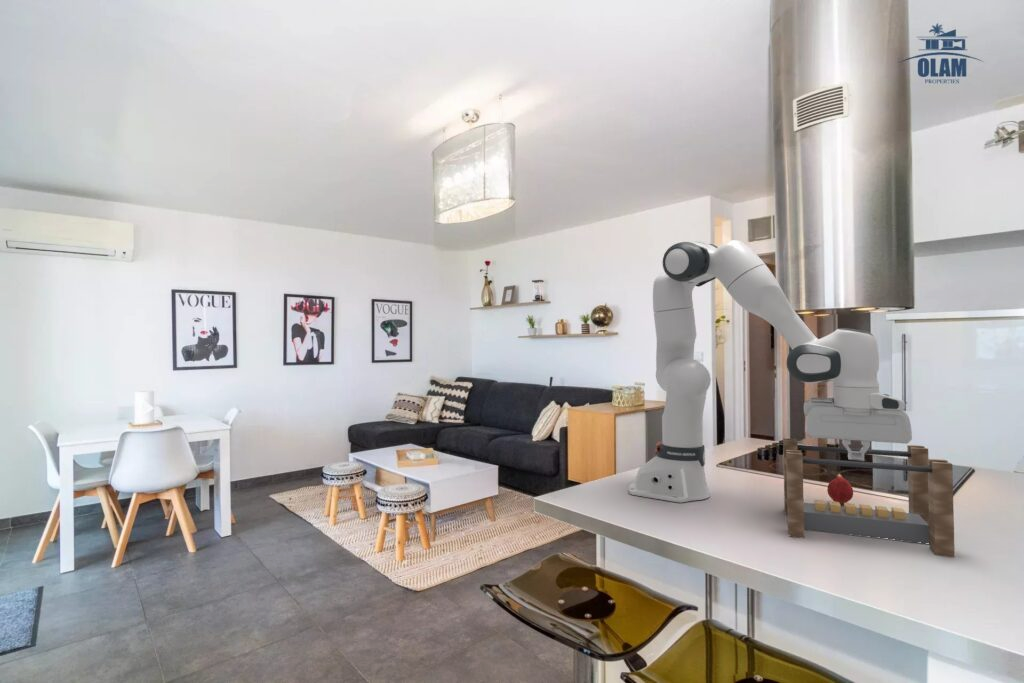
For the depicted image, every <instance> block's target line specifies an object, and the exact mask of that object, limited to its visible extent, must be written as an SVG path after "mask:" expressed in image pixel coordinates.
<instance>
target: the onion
mask: <svg viewBox="0 0 1024 683" xmlns="http://www.w3.org/2000/svg"><path fill="white" fill-rule="evenodd" d="M826 491H827V494H828V496H829V497H830V499H831V500H832V501H833V502H839V503H840V505H841V506H844V503H849V501H851V500H852V498H853V497H854V490H853V486H852V484H851V483H850V482H849V481H848V480H847V479H845V478H844V477H843V475H842V474H840V473H839V474H837V476H836V478H834V479H832V480H831V481H829V483H828V485H827V490H826Z"/></svg>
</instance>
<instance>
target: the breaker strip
mask: <svg viewBox="0 0 1024 683" xmlns="http://www.w3.org/2000/svg"><path fill="white" fill-rule="evenodd" d="M805 529H807V530H806V531H813V530H815V532H822V531H825V532H824V533H830V532H834V533H833V534H838V533H844V534H843V535H847V534H852V535H851V536H855V535H861V536H860V537H863V536H870V537H869V538H871V537H880V538H888V539H895V540H894V541H896V540H903V541H902V542H905V541H911V542H910V543H913V542H921V543H929V525H928V524H927V523H926V521H925V520H924V519H923V518H922V517H921V516H920V515H919V514H913V513H909V512H906V511H905V510H904V509H903V508H901V507H894V506H891V508H890V510H889V508H887V506H882V505H875V506H874V509H873V508H872V506H871V505H870V504H862V503H859V506H858V507H857V505H856V504H855V503H853V502H846V503H844V504H843V505H840V503H839V502H835V501H833V500H832V501H831V500H829V501H828V504H826V502H825V500H821V499H814V500H813V503H812V502H804V530H805ZM880 538H879V539H880ZM888 539H887V540H888ZM921 543H920V544H921ZM928 545H930V543H929V544H928Z"/></svg>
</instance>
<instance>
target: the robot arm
mask: <svg viewBox="0 0 1024 683" xmlns="http://www.w3.org/2000/svg"><path fill="white" fill-rule="evenodd" d="M662 268H663V271H664V272H663V273H662V274H659V275H658V276H657V277H656V278H655V279H654V281H653V287H652V309H653V318H654V319H653V321H654V328H655V337H656V352H655V353H656V354H655V355H656V356H655V358H656V359H655V362H656V363H655V364H656V365H655V367H656V370H655V380H656V382H657V384H658V387H660V388H661V390H663V391H665V394H666V396H665V402H664V409H663V413H662V415H661V426H662V427H661V431H662V432H661V433H662V436H661V437H662V440H661V441H657V443H656V444H655V448H654V450H655V456H654V457H653V458H650V459H649V461H647V462H645V463H644V464H642V465H641V466H640V468H639V469H638V470H637V473H636V474H637V475H636V477H635V478H636V479H635V481H634V482H632V483H630V484H629V486H628V488H627V489H628V490H627V491H628V493H629V494H630V495H632V496H637V497H644V498H650V499H656V500H663V501H667V502H672V503H673V502H675V503H686V502H693V501H701V500H705V499H708V498H709V497H711V493H710V491H709V487H708V483H707V477H706V472H705V464H706V449H705V444H704V442H703V441H704V438H703V437H704V435H703V434H704V431H703V430H704V429H703V426H704V425H703V424H704V423H703V422H704V421H703V418H704V410H705V404H706V401H707V400H706V399H707V392H708V389H710V385H711V380H712V379H711V374H710V372H709V370H708V368H707V367H706V366H705V365H704V364H703V363H701V362H700V361H699V360H696V359H695V358H694V356H695V355H694V354H695V345H696V344H695V342H696V339H697V328H696V319H695V310H694V302H693V292H694V291H693V290H694V288H695V287H699V288H700V287H701V286H703V285H706V284H707V283H709V282H712V281H714V280H715V279H717V280H718V281H719V282H720V283H721V285H722V286H723V287H724V288H725V290H726V292H727V293H728V294H729V295H730V296H731V298H732V299H733V300H734V301H735V302H736V303H737V304H738V305H739V306H740V307H742V308H743V309H744V310H745V311H747V312H749V313H751V314H753V315H756V316H757V317H759V318H760V319H761V318H762V320H764V321H766V322H767V323H768V324H770V325H771V326H772V327H773V328H774V329H775V330H776V331H777V332H778V334H779V335H780V336H781V337H782V338H783V340H784V341H785V342H786V343H787V345H788V346H789V348H791V351H790V352H789V353H788V355H787V359H786V368H787V370H788V372H789V374H790V375H791V376H792V377H793V378H794V379H795V380H798V381H800V382H802V383H805V384H824V383H828V382H831V383H832V397H828V398H827V397H824V398H823V397H822V398H819V397H811V398H809V399H807V400H805V401H804V403H803V414H804V415H805V416H806V417H805V425H804V432H805V434H806V435H807V437H809V438H813V439H814V438H815V439H831V440H832V439H833V440H841V444H842V445H843V446H844V448H846V449H847V451H848V453H847V458H848V461H859V462H865V454H864V453H865V452H866V451H867V450H868V449H870V448H871V442H874V443H875V442H877V443H878V442H879V443H890V444H891V443H893V444H907V445H908V444H909V443H910V442H911V441H912V439H913V433H912V432H913V431H912V425H911V420H910V417H909V415H908V414H907V413H906V412H905V411H904V410H905V408H906V403H905V400H903V399H900V398H898V397H894V396H892V395H889V394H885V393H881V392H880V384H879V382H878V372H879V369H880V355H879V353H880V352H879V347H878V346H879V345H878V340H877V338H876V337H875V335H873V333H871V332H869V331H867V330H861V329H854V328H848V327H847V328H846V327H840V328H836V330H834V331H833V332H831V333H829V334H828V335H825V336H823V337H821V338H819V337H818V336H817V335H816V334H815V333H814V332H813V331H812V330H811V329H810V327H809V326H808V325H807V324H806V322H805V321H804V320H803V319H802V318H801V316H800V315H799V314H798V313H797V312H796V310H795V309H794V308H793V307H792V305H791V303H790V301H789V300H788V298H787V296H786V295H785V293H784V291H783V289H782V287H781V286H780V284H779V282H778V280H777V279H776V277H775V275H774V274H773V272H772V271H771V269H770V268H769V267H768V266H767V264H766V263H765V262H764V261H763V260H762V259H761V257H759V255H757V253H756V252H754V250H752V249H751V248H750V247H749V246H748V245H747V244H746V243H744V242H743V241H741V240H740V239H739V240H738V239H732V240H728V241H725V242H723V243H721V244H720V245H719V246H717V245H715V244H712V243H705V242H701V241H692V242H691V241H682V242H677V243H675V244H672V245H671V246H670V247H668V248H667V249H666V251H665V252H664V254H663V257H662ZM851 441H860V443H861V445H862V447H861V448H860V449H861V450H860V452H858V451H851V449H850V448H851V447H850V446H849V445H851V444H852V442H851Z"/></svg>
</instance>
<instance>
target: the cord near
mask: <svg viewBox="0 0 1024 683" xmlns="http://www.w3.org/2000/svg"><path fill="white" fill-rule="evenodd" d="M803 464H807V465H819V466H820V465H822V466H832V467H833V466H836V467H837V466H838V467H848V468H849V467H850V468H862V469H863V468H865V469H875V470H876V469H878V470H888V471H889V470H891V471H903V472H908V471H916V472H930V473H932V467H929V466H915V465H908V464H897V463H896V464H895V463H883V462H869V461H867V462H866V461H857V460H842V459H841V460H840V459H825V458H824V459H822V458H809V457H807V458H806V457H803Z"/></svg>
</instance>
